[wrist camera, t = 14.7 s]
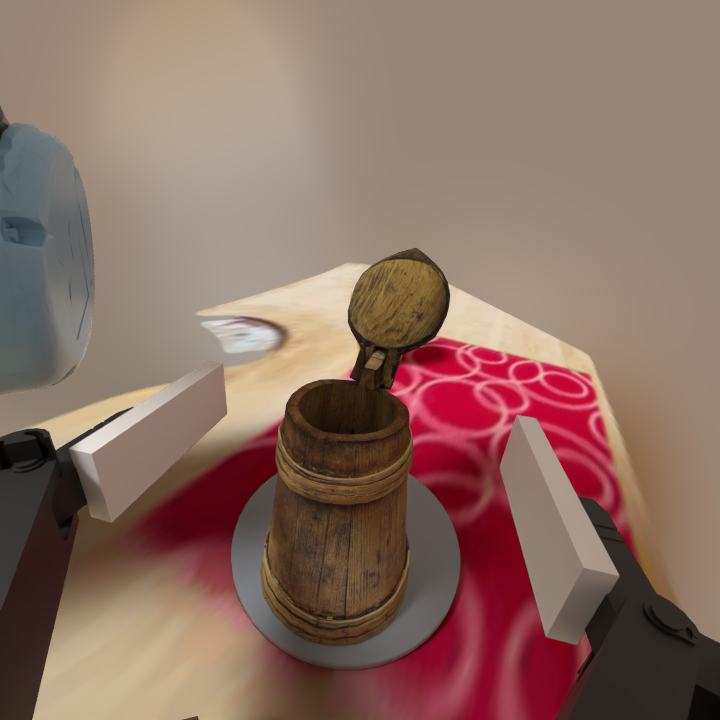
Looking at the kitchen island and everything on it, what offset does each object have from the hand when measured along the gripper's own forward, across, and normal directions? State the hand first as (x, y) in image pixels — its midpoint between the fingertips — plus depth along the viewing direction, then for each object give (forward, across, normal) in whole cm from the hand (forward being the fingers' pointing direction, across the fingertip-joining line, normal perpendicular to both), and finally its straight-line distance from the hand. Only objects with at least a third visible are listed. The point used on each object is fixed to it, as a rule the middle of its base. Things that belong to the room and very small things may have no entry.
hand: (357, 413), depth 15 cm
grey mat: (+4, 0, -12) cm, 13 cm away
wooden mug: (+3, 0, -12) cm, 12 cm away
